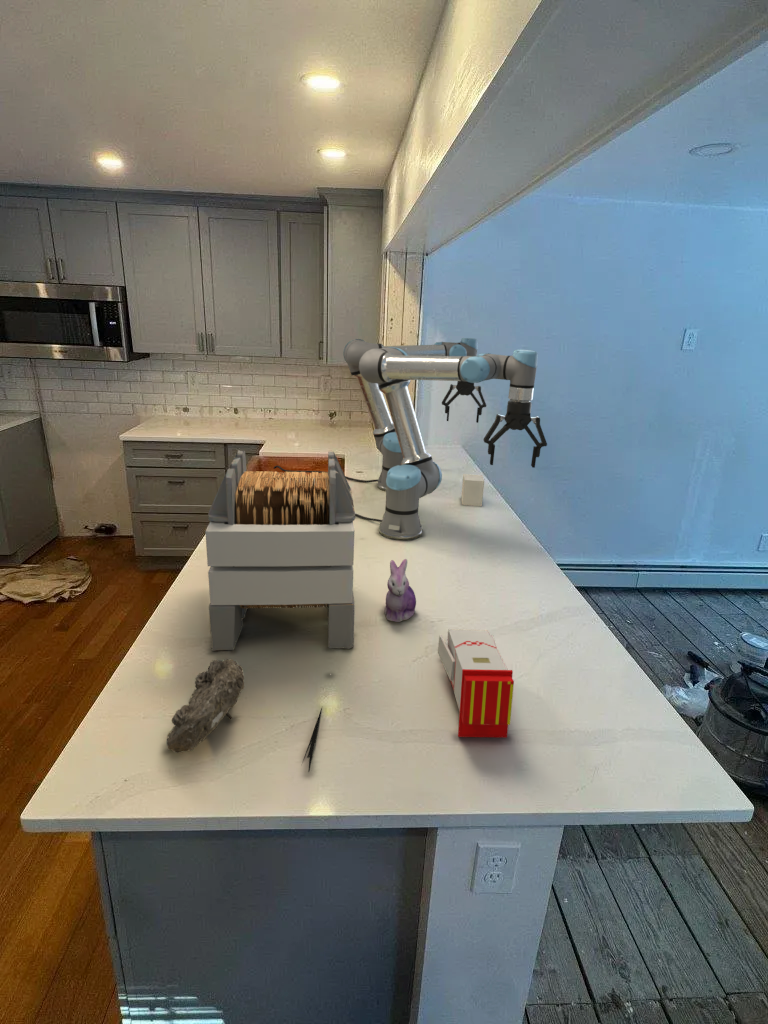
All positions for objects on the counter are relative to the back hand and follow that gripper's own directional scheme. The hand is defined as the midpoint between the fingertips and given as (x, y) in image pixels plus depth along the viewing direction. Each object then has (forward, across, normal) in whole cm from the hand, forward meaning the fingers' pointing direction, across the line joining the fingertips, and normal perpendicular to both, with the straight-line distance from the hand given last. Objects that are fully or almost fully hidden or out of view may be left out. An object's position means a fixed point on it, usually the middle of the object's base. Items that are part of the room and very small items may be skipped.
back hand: (462, 421), depth 261 cm
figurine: (+27, +21, +132) cm, 136 cm away
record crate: (+27, +50, +136) cm, 147 cm away
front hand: (0, -12, +78) cm, 78 cm away
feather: (+27, +34, +174) cm, 179 cm away
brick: (+27, -4, +35) cm, 45 cm away
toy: (+27, +5, +162) cm, 164 cm away
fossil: (+27, +55, +176) cm, 186 cm away
